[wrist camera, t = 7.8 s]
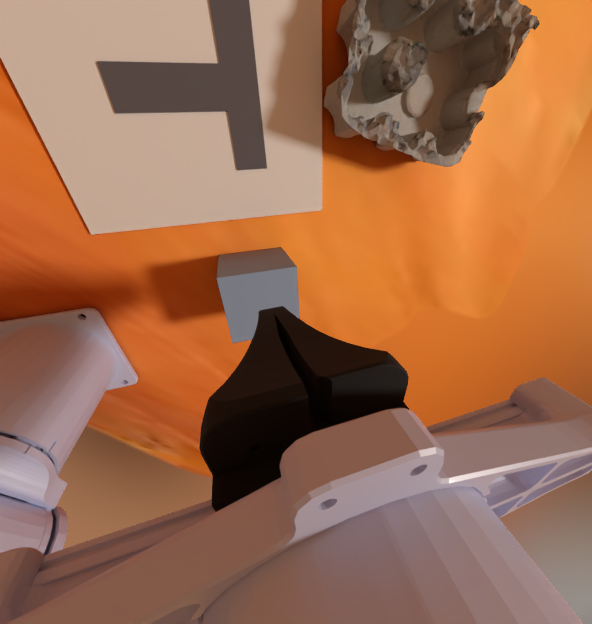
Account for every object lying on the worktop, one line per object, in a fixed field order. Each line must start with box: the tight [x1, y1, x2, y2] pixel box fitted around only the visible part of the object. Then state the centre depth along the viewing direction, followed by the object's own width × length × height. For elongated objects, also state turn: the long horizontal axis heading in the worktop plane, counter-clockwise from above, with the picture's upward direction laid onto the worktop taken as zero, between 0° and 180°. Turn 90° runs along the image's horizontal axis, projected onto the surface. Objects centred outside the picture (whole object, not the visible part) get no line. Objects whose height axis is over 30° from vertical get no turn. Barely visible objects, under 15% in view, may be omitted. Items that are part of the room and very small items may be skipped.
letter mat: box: [0, 0, 322, 235], centre depth 13 cm, size 16×14×1 cm
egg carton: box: [324, 0, 540, 167], centre depth 14 cm, size 11×8×4 cm
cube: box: [217, 247, 300, 343], centre depth 18 cm, size 5×5×5 cm
